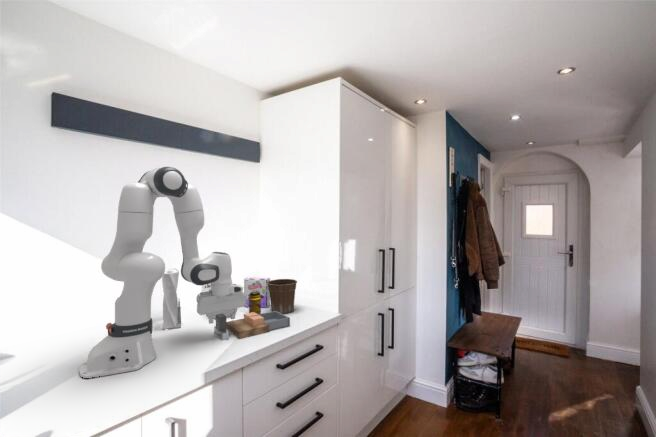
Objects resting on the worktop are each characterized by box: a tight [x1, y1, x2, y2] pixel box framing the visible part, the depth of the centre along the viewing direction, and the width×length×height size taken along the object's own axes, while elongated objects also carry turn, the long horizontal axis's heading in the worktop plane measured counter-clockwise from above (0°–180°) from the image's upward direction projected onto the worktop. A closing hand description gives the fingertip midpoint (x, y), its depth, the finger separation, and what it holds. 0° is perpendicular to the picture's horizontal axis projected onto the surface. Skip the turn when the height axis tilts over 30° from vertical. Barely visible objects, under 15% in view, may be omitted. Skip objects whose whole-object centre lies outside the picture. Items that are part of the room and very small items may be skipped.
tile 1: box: [243, 312, 258, 323], centre depth 150 cm, size 5×5×3 cm
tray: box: [258, 311, 291, 332], centre depth 153 cm, size 11×14×4 cm
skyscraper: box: [161, 267, 182, 330], centre depth 150 cm, size 8×8×28 cm
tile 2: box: [249, 315, 264, 327], centre depth 145 cm, size 5×5×3 cm
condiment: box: [248, 292, 262, 314], centre depth 168 cm, size 7×8×12 cm
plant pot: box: [267, 278, 298, 315], centre depth 176 cm, size 16×16×16 cm
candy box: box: [243, 276, 271, 309], centre depth 185 cm, size 14×6×16 cm, turn 80°
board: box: [226, 318, 270, 340], centre depth 146 cm, size 14×16×3 cm
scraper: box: [213, 313, 229, 342], centre depth 139 cm, size 3×11×9 cm, turn 37°
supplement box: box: [208, 287, 234, 320], centre depth 166 cm, size 9×9×15 cm
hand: (222, 320), depth 139 cm, fingers open, 8 cm apart
